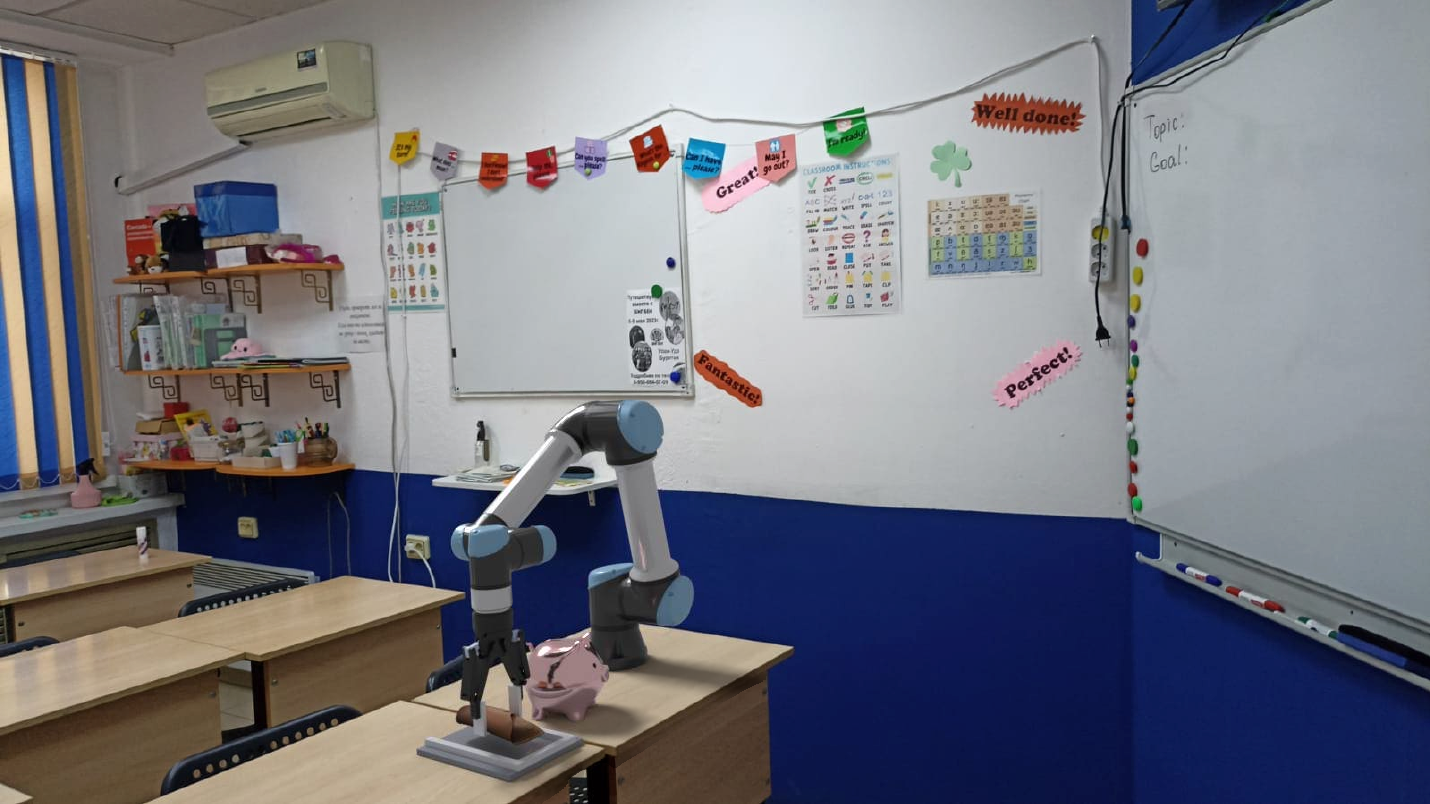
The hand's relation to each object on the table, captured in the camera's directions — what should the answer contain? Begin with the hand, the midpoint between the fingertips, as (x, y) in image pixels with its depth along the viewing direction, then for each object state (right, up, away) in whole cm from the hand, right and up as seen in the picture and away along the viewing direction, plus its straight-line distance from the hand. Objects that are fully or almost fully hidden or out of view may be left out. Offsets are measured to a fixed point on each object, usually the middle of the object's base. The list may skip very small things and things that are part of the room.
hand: (498, 726), depth 186 cm
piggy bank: (+10, -3, +19) cm, 22 cm away
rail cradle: (0, -4, 0) cm, 4 cm away
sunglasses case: (0, -1, 0) cm, 1 cm away
